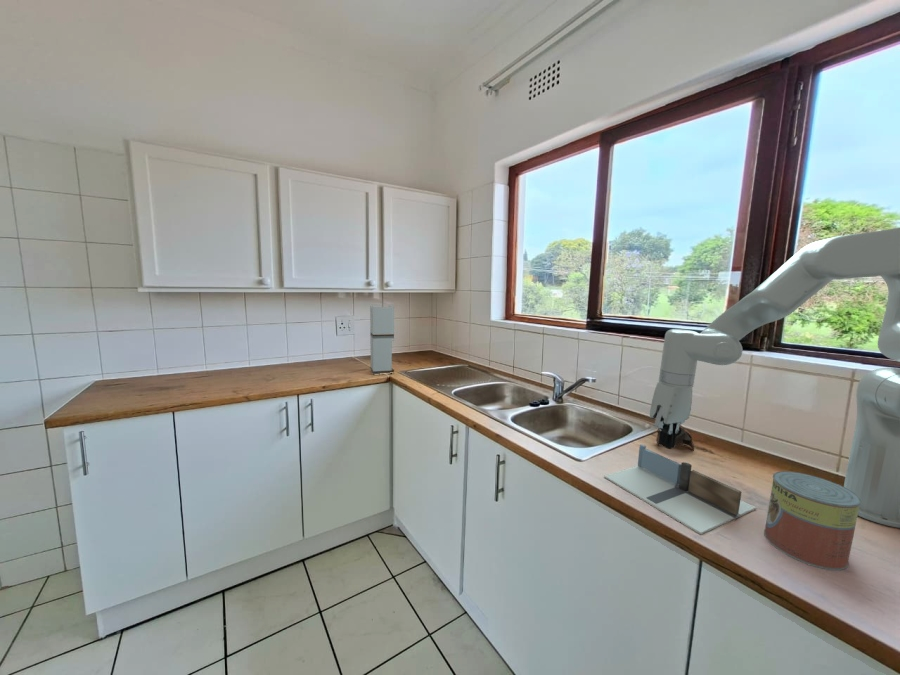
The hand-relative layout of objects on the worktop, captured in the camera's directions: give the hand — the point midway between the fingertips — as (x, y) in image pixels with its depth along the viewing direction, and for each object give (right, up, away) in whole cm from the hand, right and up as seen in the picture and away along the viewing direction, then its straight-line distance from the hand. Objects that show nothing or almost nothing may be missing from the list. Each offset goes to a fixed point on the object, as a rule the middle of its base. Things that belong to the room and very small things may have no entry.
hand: (666, 446), depth 94 cm
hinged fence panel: (-4, -6, -3) cm, 8 cm away
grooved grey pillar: (-93, +10, +99) cm, 136 cm away
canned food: (+9, -11, -27) cm, 30 cm away
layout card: (-4, -8, -10) cm, 13 cm away
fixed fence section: (+1, -8, -13) cm, 16 cm away
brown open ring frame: (+11, -5, +15) cm, 20 cm away
